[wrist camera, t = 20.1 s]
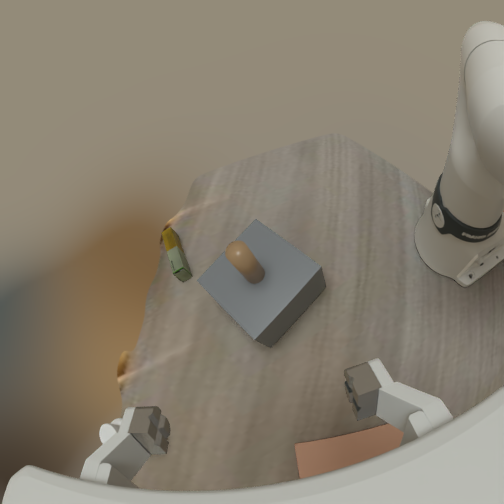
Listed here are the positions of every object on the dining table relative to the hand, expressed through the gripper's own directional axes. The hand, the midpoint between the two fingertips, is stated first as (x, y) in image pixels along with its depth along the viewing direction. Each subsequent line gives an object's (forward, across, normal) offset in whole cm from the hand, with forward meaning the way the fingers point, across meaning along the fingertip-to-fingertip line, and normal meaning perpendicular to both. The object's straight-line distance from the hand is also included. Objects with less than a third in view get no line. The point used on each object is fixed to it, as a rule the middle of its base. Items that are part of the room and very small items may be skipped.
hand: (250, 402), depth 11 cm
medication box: (+50, -15, -9) cm, 53 cm away
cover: (+37, +2, -15) cm, 40 cm away
